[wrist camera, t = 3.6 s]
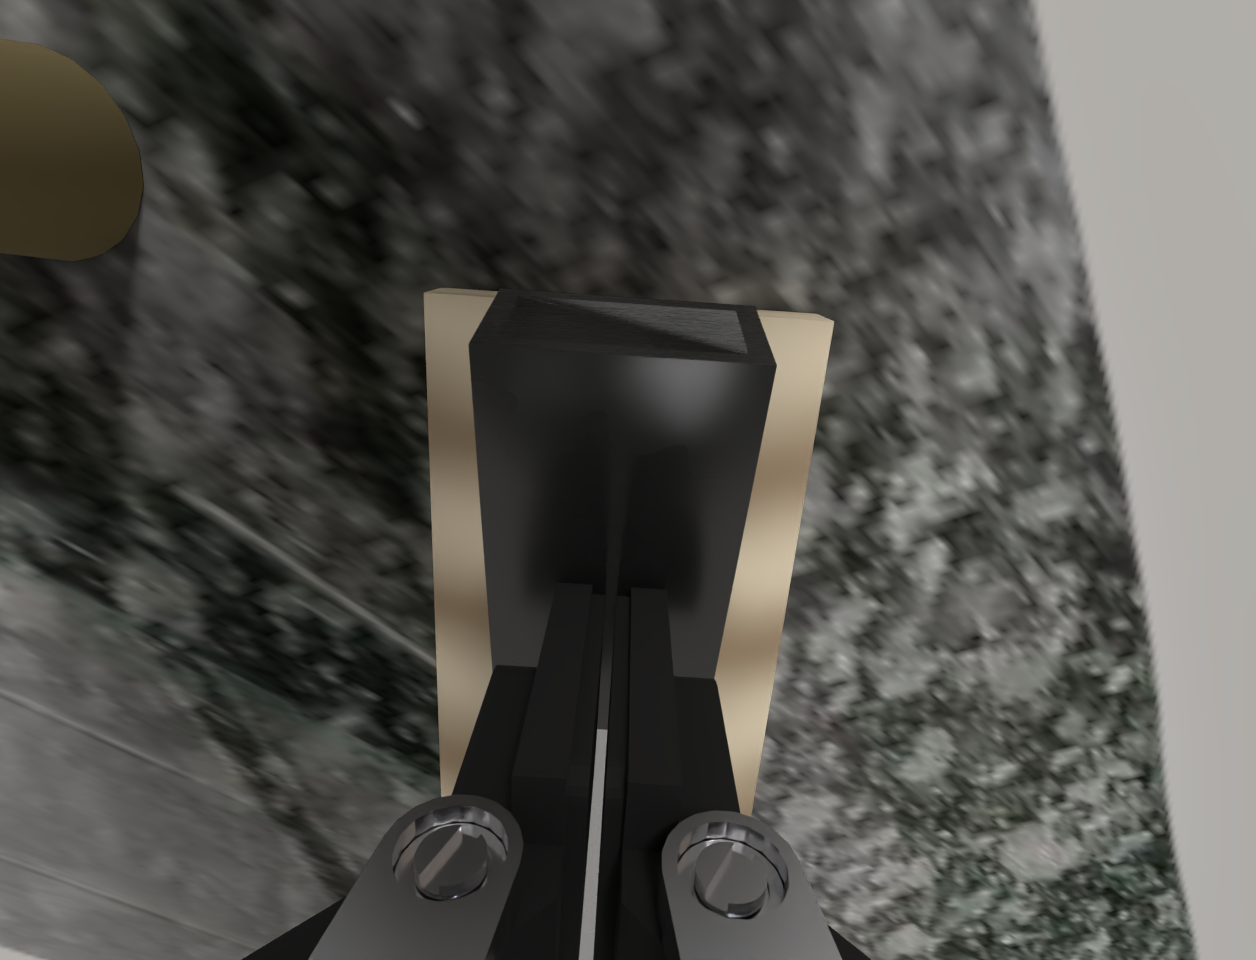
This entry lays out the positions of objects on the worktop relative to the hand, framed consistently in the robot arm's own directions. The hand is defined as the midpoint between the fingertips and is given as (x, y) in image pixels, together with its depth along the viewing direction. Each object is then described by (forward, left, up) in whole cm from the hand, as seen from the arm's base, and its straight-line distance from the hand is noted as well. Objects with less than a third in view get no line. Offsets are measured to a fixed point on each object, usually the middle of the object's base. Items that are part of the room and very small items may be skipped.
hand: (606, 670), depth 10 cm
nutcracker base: (+6, 0, -14) cm, 15 cm away
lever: (+3, 0, -5) cm, 6 cm away
